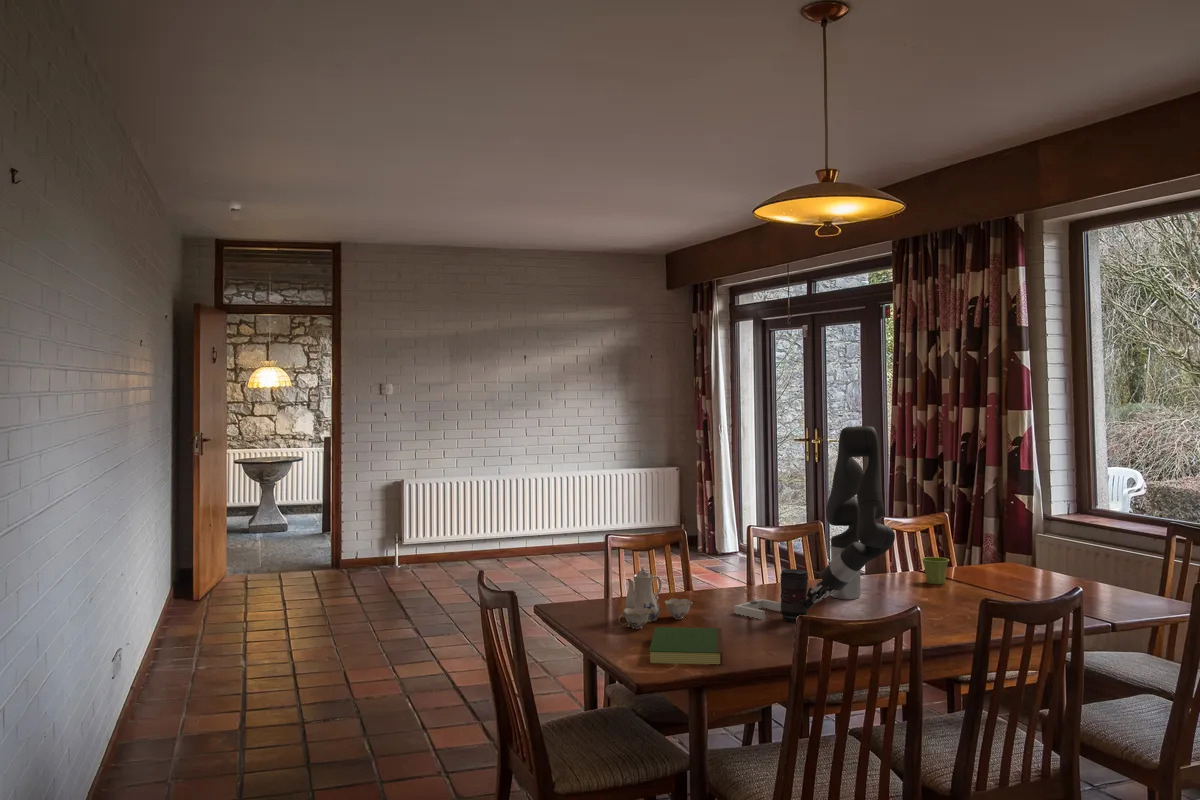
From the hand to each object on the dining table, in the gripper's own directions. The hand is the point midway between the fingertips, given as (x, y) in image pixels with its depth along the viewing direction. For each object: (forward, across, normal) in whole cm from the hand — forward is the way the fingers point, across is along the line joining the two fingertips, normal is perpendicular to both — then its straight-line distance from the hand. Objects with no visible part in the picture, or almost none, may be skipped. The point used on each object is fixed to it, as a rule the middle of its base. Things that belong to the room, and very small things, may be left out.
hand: (806, 606), depth 281 cm
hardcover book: (+8, +48, 0) cm, 49 cm away
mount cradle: (+15, 0, -9) cm, 18 cm away
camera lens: (+7, 0, 0) cm, 7 cm away
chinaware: (+28, +32, -21) cm, 47 cm away
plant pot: (+4, -80, +3) cm, 80 cm away
